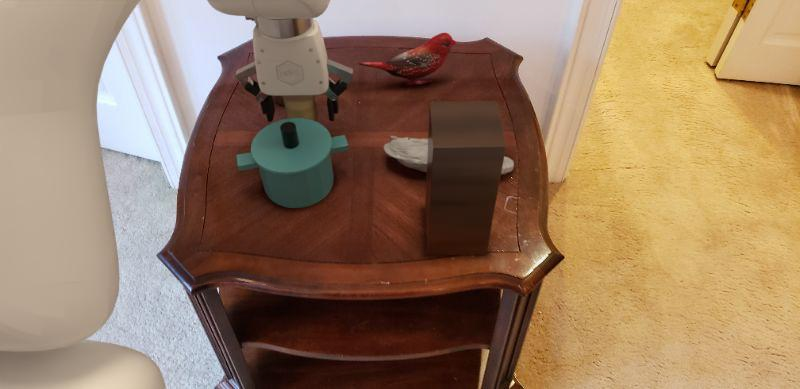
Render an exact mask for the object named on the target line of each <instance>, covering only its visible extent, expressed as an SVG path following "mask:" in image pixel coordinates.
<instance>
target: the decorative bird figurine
mask: <svg viewBox="0 0 800 389" xmlns="http://www.w3.org/2000/svg"><path fill="white" fill-rule="evenodd" d="M456 44H458V42H457V41H456V40H454V39H453V36H451V34H450V33H448V32H440V33H439V34H436V35H434V36H432V37H431V38H430V39H429V40H427V42H425V43H424V44H422V45H419V46H418V47H416V48H411V49H409V50H406V51H403V52H402V53H399V54H397V55H394V56H393V57H391V58H389V59H387V60H386V61H367V62H366V61H363V62H357V63H356V64H357V65H360V66H363V67H369V68H374V69H380V70H382V71H384V72H386V73H388V74H389V75H391V76H393V77H397V78H402V79H406V80H407V81H408V82H407V83H405V86H407V85H409V86H415V85H424V84H426V83H430V82H433V81H434V80H432V79H431V80H430V79H429V80H423V79H422V78H426V77H428V76H430V75H432V74H434V73H435V72H436V71H438V70H439V69H440V68H441V67H442V65H443V64H444V62H445V61H446V59H447V57H448V55H449V54H450V52H451V50H452V47H453V46H454V45H456ZM419 79H420V80H419ZM421 79H422V80H421Z"/></svg>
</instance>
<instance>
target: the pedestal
mask: <svg viewBox="0 0 800 389" xmlns="http://www.w3.org/2000/svg"><path fill="white" fill-rule="evenodd" d="M428 111H429V112H428V132H427V134H428V136H427V139H428V155H427V173H426V182H425V183H426V184H425V202H424V204H425V205H424V216H425V217H424V218H425V234H426V235H425V236H426V252H427V253H426V255H427V256H486V255H487V252H488V246H489V241H490V237H491V236H490V235H491V230H492V225H493V218H494V214H495V209H496V204H497V199H498V198H497V197H498V194H499V189H500V188H499V187H500V182H501V176H502V174H501V172H502V166H503V161H504V156H505V157H506V149H507V144H506V139H505V135H504V134H505V133H504V130H503V125H502V124H503V123H502V120H501V114H500V110H499V105H498V101H497V100H477V101H475V100H472V101H471V100H470V101H468V100H467V101H466V100H465V101H429V110H428Z"/></svg>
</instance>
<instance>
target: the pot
mask: <svg viewBox="0 0 800 389" xmlns="http://www.w3.org/2000/svg"><path fill="white" fill-rule="evenodd" d="M331 140H332V147H331V151H330V153H329V155H328V156H327V158H326V159H325V160H324V161H323V162H322V163H321V164H319V165H318V166H316V167H315V168H313V169H311V170H308V171H305V172H302V173H298V174H291V175H281V174H275V173H271V172H268V171H266V170H264V169H262V168H261V167H259V166H258V165H257V164H256V162H255V161H254V159H253V157H252V154H251V151H249V152H245V153H240V154H236V164H237V165H236V166H237V168H238V171H239V172H241V171H242V172H243V171H247V170H252V169H257V168H258V170H259V175H260V179H261V183H262V186H263V189H264V192H265V194H266V196H267V197H268V198H269V199H270V201H271V202H273V203H275V204H276V205H278V206H281V207H284V208H288V209H289V208H290V209H301V208H306V207H310V206H313V205H315V204H317V203H319V202H321V201H322V200H323V199H325V198H326V197H327V196H328V195H329V193H330V192H331V191H332V188H333V185H334V178H335V177H334V171H333V164H332V163H333V162H332V157H331V154H334V153H340V152H345V151H349V143H348V140H347V138H346V135H345V134H342V135H336V136H331Z"/></svg>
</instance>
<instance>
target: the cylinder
mask: <svg viewBox="0 0 800 389" xmlns="http://www.w3.org/2000/svg"><path fill="white" fill-rule="evenodd" d="M283 100H284V105H285V106H284V105H283V106H284V109H285V114H286V119H290V118H303V119H309V120H313V121H315V122H318V123H320V122H319V115H318V108H317V102H316V95H287V96H283Z"/></svg>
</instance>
